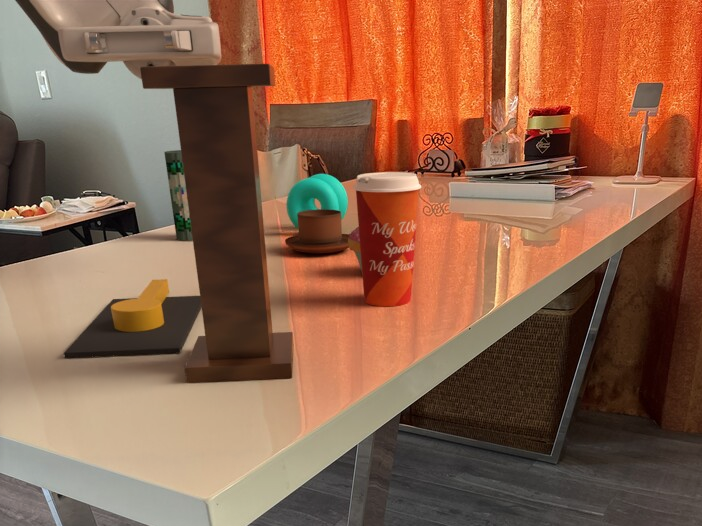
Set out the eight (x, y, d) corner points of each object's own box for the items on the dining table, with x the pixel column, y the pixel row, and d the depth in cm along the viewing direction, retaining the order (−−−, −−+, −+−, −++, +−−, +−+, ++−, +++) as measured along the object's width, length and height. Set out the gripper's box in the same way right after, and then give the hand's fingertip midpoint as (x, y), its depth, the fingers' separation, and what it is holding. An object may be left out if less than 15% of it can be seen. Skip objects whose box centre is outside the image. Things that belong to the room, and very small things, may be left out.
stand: (186, 383, 68) (139, 66, 55) (200, 349, 76) (162, 69, 64) (292, 378, 68) (269, 63, 56) (293, 345, 77) (274, 67, 64)
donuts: (350, 227, 142) (348, 173, 137) (337, 236, 133) (335, 179, 128) (302, 226, 144) (298, 173, 139) (286, 235, 135) (282, 178, 130)
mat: (64, 358, 75) (63, 352, 75) (113, 303, 94) (112, 299, 94) (179, 353, 75) (179, 347, 75) (205, 299, 95) (204, 295, 94)
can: (176, 241, 132) (164, 153, 125) (176, 236, 137) (164, 150, 130) (210, 239, 133) (199, 151, 126) (208, 234, 139) (198, 149, 131)
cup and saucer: (279, 247, 125) (276, 210, 122) (344, 241, 128) (343, 205, 125) (295, 260, 115) (292, 220, 112) (365, 254, 118) (364, 215, 115)
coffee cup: (378, 312, 87) (377, 180, 80) (344, 298, 94) (340, 174, 86) (433, 301, 91) (436, 174, 84) (396, 289, 97) (397, 169, 90)
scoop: (140, 293, 96) (137, 275, 95) (182, 292, 96) (180, 274, 95) (109, 333, 80) (105, 312, 79) (159, 331, 81) (156, 310, 79)
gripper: (70, 20, 96) (37, 10, 84) (223, 17, 97) (211, 7, 85) (80, 74, 99) (49, 72, 87) (228, 70, 100) (217, 68, 88)
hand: (130, 39), depth 86 cm, fingers open, 8 cm apart
